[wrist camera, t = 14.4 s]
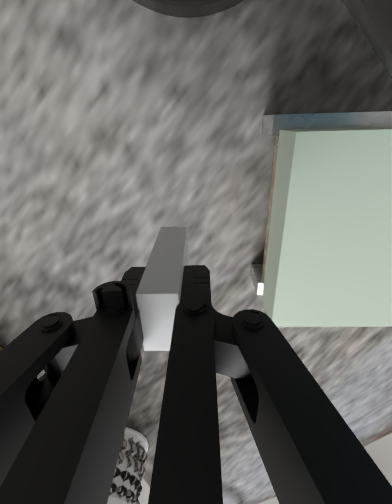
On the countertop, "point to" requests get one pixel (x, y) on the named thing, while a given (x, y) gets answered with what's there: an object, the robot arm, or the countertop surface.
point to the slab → (331, 229)
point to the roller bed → (309, 121)
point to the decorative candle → (129, 469)
